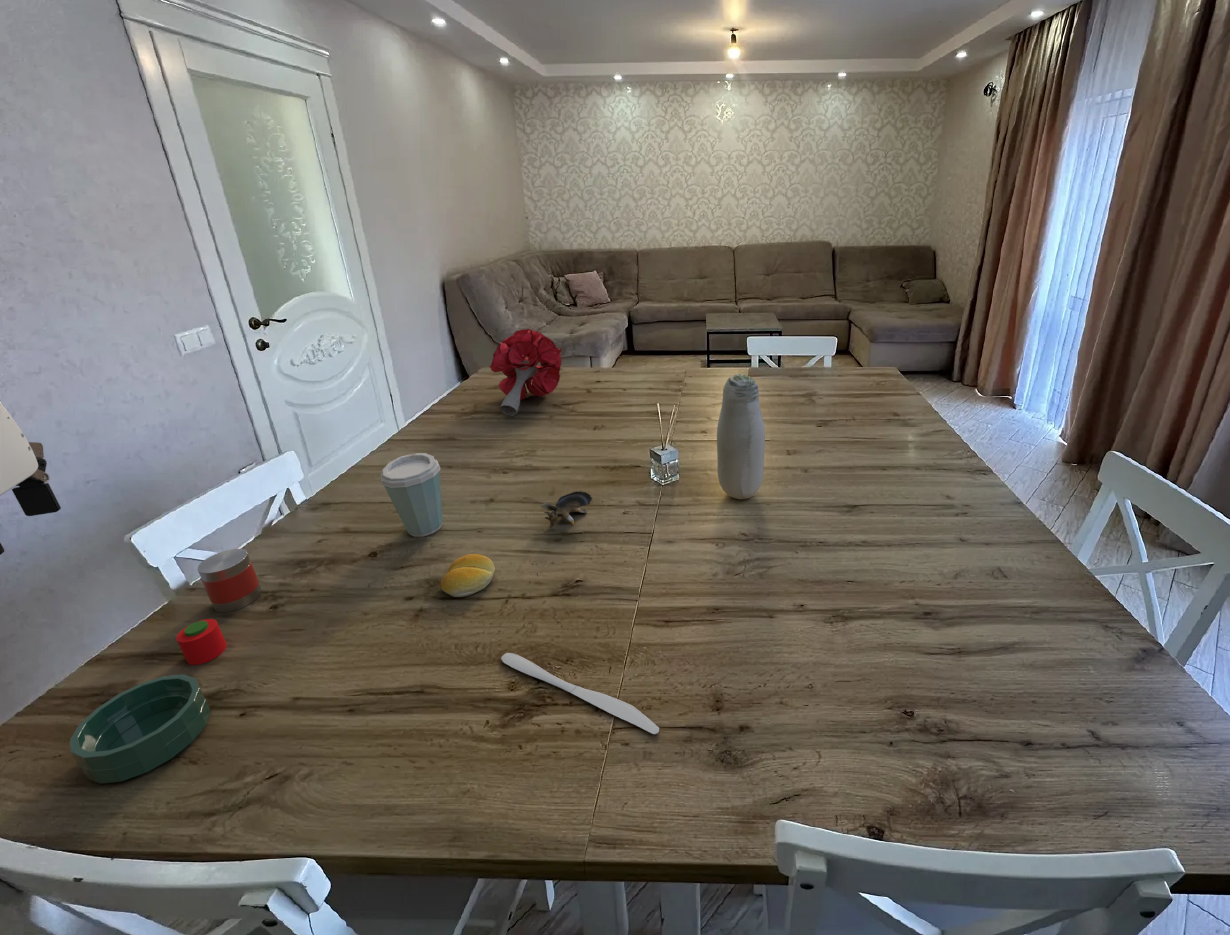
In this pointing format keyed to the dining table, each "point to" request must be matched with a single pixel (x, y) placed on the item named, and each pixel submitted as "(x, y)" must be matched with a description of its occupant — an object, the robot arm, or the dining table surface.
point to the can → (230, 580)
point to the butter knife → (584, 693)
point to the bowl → (140, 728)
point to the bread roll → (468, 575)
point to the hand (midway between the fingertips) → (16, 533)
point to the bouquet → (526, 367)
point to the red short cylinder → (201, 641)
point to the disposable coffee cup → (415, 492)
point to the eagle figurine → (567, 506)
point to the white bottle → (740, 438)
